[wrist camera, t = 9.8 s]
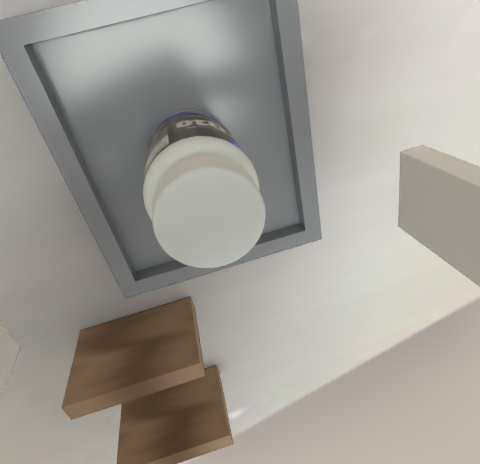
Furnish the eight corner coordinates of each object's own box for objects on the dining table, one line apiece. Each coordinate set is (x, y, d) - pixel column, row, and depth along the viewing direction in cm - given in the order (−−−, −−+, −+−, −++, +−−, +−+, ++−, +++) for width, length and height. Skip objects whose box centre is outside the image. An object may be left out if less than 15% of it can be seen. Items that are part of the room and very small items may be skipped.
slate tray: (127, 279, 23) (125, 298, 22) (3, 24, 16) (-15, 23, 14) (310, 224, 24) (321, 238, 23) (277, -41, 17) (292, -49, 15)
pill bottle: (247, 133, 19) (302, 190, 12) (210, 204, 21) (239, 292, 14) (167, 91, 18) (176, 130, 10) (132, 173, 19) (120, 255, 12)
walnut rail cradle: (128, 404, 29) (122, 482, 24) (80, 330, 25) (61, 407, 20) (219, 374, 30) (233, 444, 25) (190, 296, 25) (199, 363, 20)
